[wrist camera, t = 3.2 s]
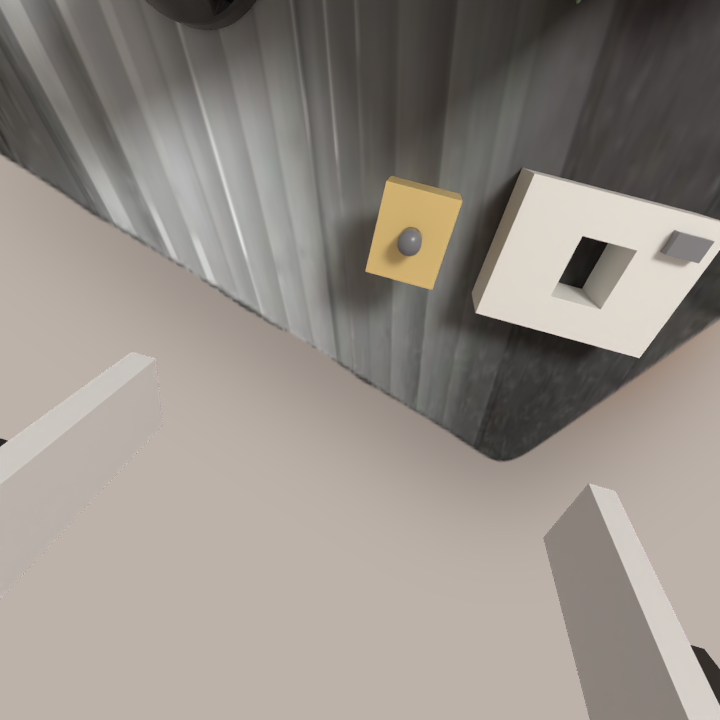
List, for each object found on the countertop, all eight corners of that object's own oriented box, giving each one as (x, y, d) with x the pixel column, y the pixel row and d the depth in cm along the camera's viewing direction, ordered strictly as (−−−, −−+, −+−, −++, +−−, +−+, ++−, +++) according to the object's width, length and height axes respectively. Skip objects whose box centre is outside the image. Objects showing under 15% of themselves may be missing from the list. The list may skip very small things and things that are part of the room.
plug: (380, 242, 45) (361, 278, 34) (398, 168, 41) (383, 183, 30) (433, 256, 45) (431, 297, 34) (457, 184, 41) (463, 205, 30)
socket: (471, 292, 46) (476, 316, 40) (522, 167, 39) (537, 174, 33) (617, 332, 46) (643, 362, 40) (697, 213, 38) (744, 228, 32)
